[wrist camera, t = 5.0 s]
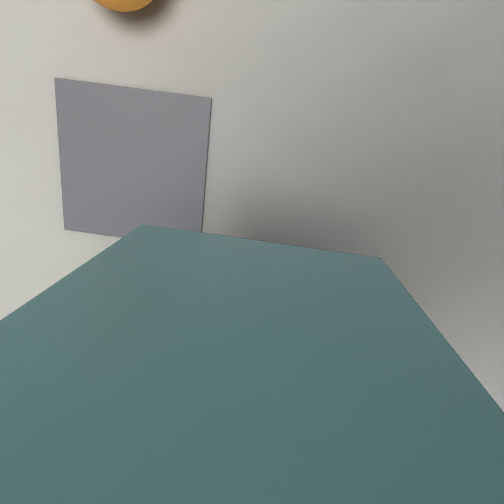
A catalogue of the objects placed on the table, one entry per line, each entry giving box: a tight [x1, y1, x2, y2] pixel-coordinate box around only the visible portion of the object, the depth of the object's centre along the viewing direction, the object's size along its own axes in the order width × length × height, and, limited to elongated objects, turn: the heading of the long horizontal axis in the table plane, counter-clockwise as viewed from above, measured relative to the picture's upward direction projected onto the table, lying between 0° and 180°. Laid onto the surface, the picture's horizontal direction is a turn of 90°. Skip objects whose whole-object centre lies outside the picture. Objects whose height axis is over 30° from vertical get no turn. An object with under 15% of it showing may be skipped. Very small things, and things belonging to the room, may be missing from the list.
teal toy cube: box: [0, 224, 504, 504], centre depth 8 cm, size 8×8×9 cm
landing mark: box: [54, 78, 212, 238], centre depth 23 cm, size 10×10×1 cm
